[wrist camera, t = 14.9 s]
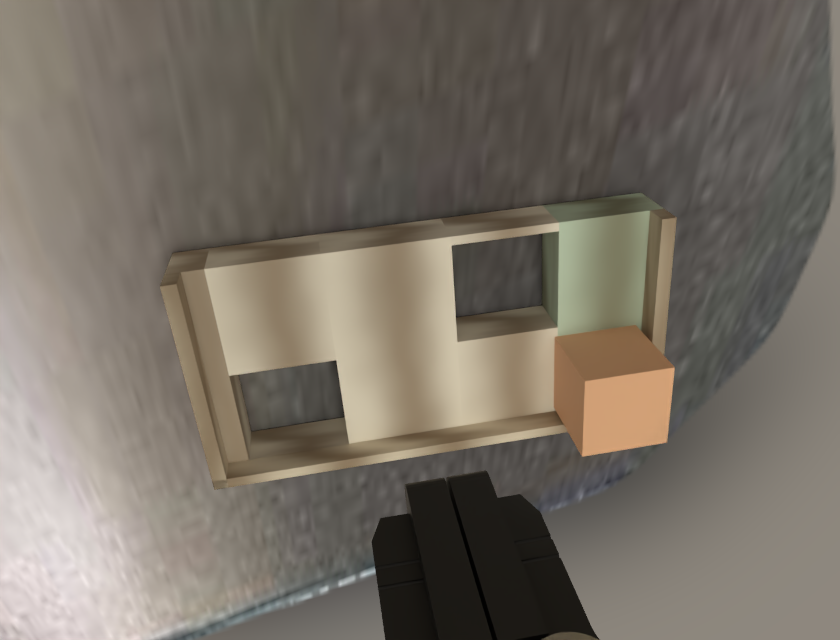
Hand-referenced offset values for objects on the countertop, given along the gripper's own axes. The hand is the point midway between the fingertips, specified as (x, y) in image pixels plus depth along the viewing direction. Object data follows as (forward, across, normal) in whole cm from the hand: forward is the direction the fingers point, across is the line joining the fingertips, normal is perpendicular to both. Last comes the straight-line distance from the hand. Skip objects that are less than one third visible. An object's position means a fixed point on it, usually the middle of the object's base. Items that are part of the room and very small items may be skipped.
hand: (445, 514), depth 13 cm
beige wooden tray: (+29, -4, +12) cm, 31 cm away
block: (+26, -13, +15) cm, 33 cm away
